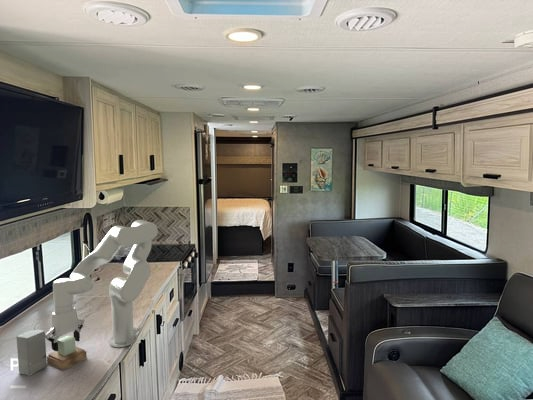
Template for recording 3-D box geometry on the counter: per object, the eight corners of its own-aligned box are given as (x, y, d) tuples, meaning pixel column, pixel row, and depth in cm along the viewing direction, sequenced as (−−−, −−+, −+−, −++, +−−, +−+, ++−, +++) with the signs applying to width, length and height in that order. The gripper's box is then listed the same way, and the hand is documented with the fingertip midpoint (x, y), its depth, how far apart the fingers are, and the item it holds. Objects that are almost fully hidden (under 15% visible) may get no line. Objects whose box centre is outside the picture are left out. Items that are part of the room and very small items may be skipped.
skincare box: (29, 376, 149) (26, 339, 147) (17, 372, 151) (14, 336, 149) (48, 365, 156) (46, 330, 155) (36, 362, 159) (34, 327, 157)
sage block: (68, 348, 163) (67, 335, 163) (75, 350, 161) (75, 337, 160) (57, 353, 159) (56, 339, 158) (64, 356, 157) (64, 342, 156)
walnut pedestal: (71, 351, 168) (70, 343, 167) (86, 358, 163) (86, 349, 162) (47, 363, 158) (46, 354, 158) (62, 370, 153) (62, 361, 153)
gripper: (77, 299, 167) (79, 335, 169) (38, 312, 152) (41, 352, 154) (88, 302, 164) (89, 339, 165) (49, 316, 149) (51, 356, 150)
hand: (66, 345), depth 160 cm, fingers open, 9 cm apart
